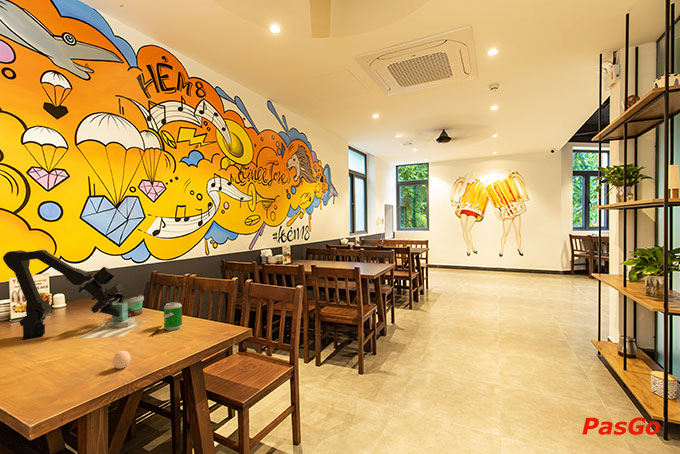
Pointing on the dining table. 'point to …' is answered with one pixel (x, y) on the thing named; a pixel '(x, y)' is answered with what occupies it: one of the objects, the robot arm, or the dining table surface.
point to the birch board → (110, 331)
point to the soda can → (172, 316)
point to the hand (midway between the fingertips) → (123, 313)
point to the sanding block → (120, 317)
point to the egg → (121, 359)
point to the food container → (134, 305)
